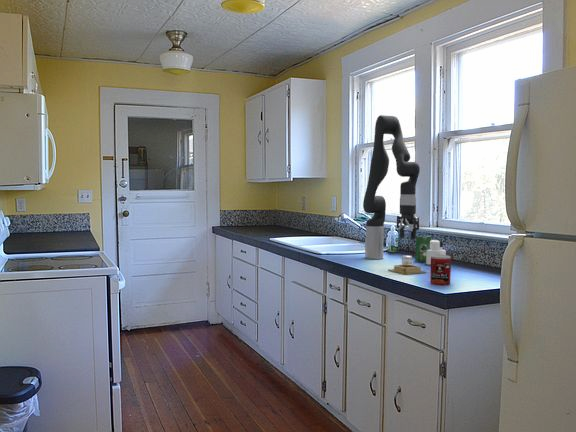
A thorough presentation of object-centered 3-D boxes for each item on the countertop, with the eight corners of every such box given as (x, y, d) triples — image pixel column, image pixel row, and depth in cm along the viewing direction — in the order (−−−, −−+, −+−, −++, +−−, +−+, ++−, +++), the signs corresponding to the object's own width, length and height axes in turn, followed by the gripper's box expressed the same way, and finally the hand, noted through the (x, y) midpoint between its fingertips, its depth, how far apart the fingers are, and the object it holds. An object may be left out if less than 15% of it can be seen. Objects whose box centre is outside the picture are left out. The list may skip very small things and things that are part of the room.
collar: (388, 270, 240) (388, 265, 240) (409, 269, 245) (409, 263, 245) (404, 274, 229) (404, 269, 229) (426, 273, 234) (426, 267, 234)
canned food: (429, 284, 207) (429, 256, 207) (431, 281, 215) (431, 254, 214) (449, 286, 205) (450, 257, 204) (451, 282, 212) (451, 255, 212)
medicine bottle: (432, 262, 265) (432, 239, 265) (445, 264, 261) (446, 240, 260) (425, 264, 260) (426, 240, 259) (439, 265, 255) (440, 241, 255)
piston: (399, 266, 252) (399, 255, 252) (407, 266, 254) (408, 255, 254) (405, 268, 247) (405, 257, 247) (414, 267, 249) (414, 256, 249)
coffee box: (426, 260, 273) (427, 235, 272) (430, 261, 270) (431, 235, 269) (414, 261, 269) (415, 236, 268) (418, 262, 266) (419, 236, 265)
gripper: (392, 203, 254) (392, 237, 255) (410, 204, 241) (410, 240, 242) (405, 203, 257) (404, 236, 258) (423, 204, 244) (423, 239, 245)
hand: (407, 238), depth 250 cm, fingers open, 8 cm apart
